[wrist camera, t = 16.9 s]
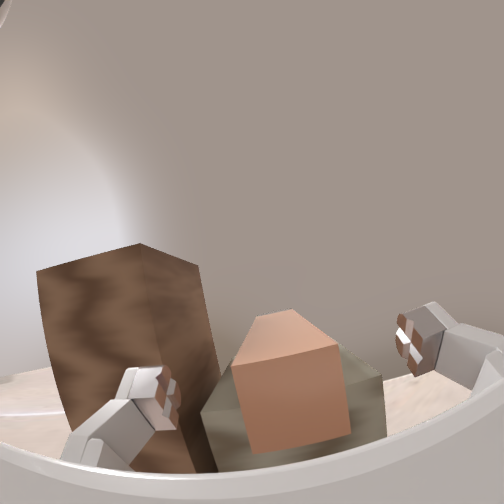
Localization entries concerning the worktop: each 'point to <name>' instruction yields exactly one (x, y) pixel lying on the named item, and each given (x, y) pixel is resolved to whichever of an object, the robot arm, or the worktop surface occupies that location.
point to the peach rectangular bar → (289, 384)
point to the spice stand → (170, 361)
